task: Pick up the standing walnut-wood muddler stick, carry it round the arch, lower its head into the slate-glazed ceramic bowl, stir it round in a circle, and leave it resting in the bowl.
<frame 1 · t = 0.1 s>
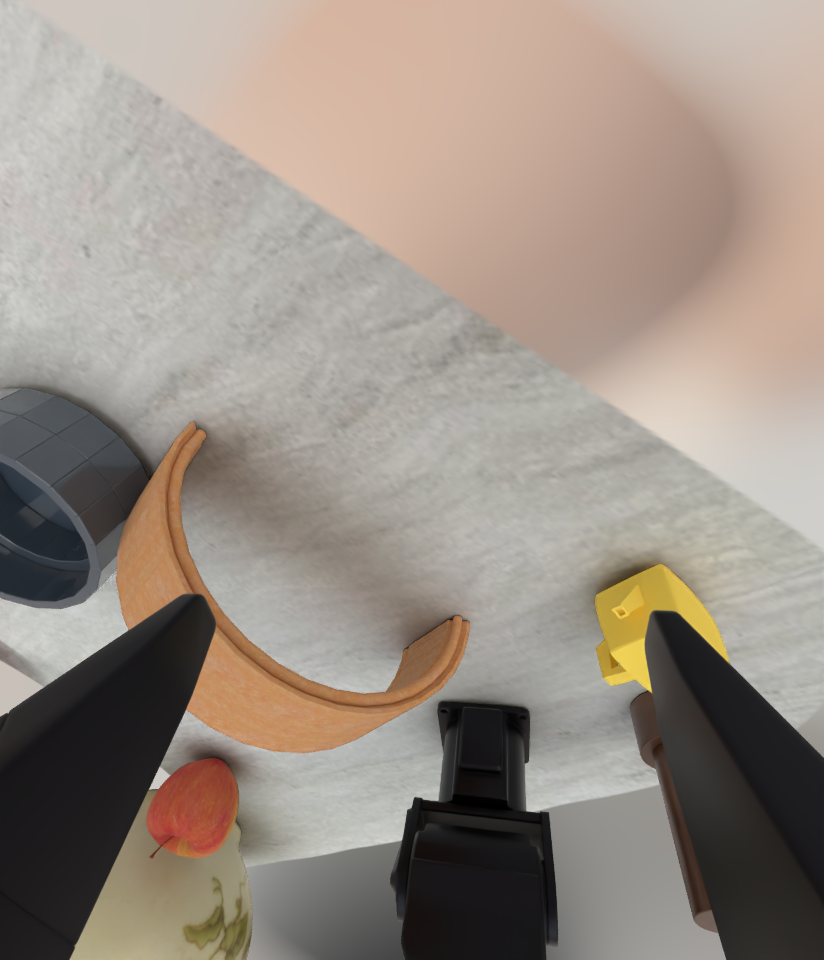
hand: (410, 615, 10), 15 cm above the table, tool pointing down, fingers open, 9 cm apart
teapot: (635, 596, 28), on the table
apple: (217, 762, 47), on the table
pitcher: (188, 816, 55), on the table
bowl: (71, 472, 29), on the table
muddler: (665, 708, 33), on the table
arch: (318, 553, 30), on the table, touching bowl
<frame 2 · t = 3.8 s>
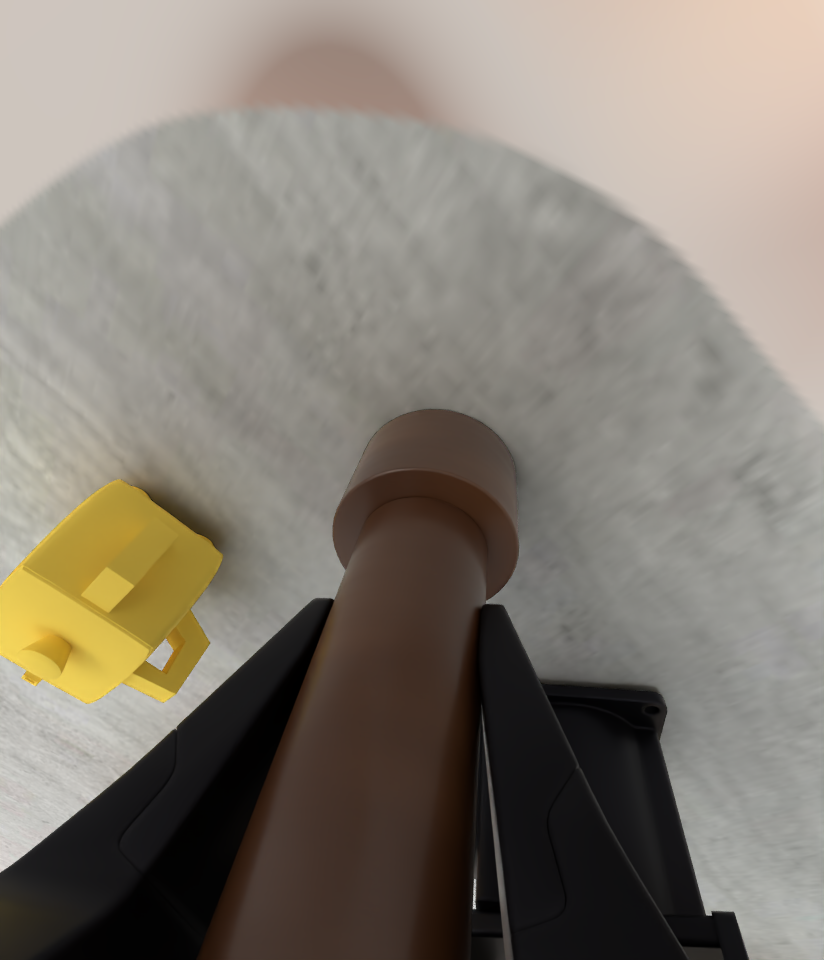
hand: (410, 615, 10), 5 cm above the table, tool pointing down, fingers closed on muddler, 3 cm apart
teapot: (168, 550, 18), on the table
muddler: (437, 479, 14), on the table, touching gripper
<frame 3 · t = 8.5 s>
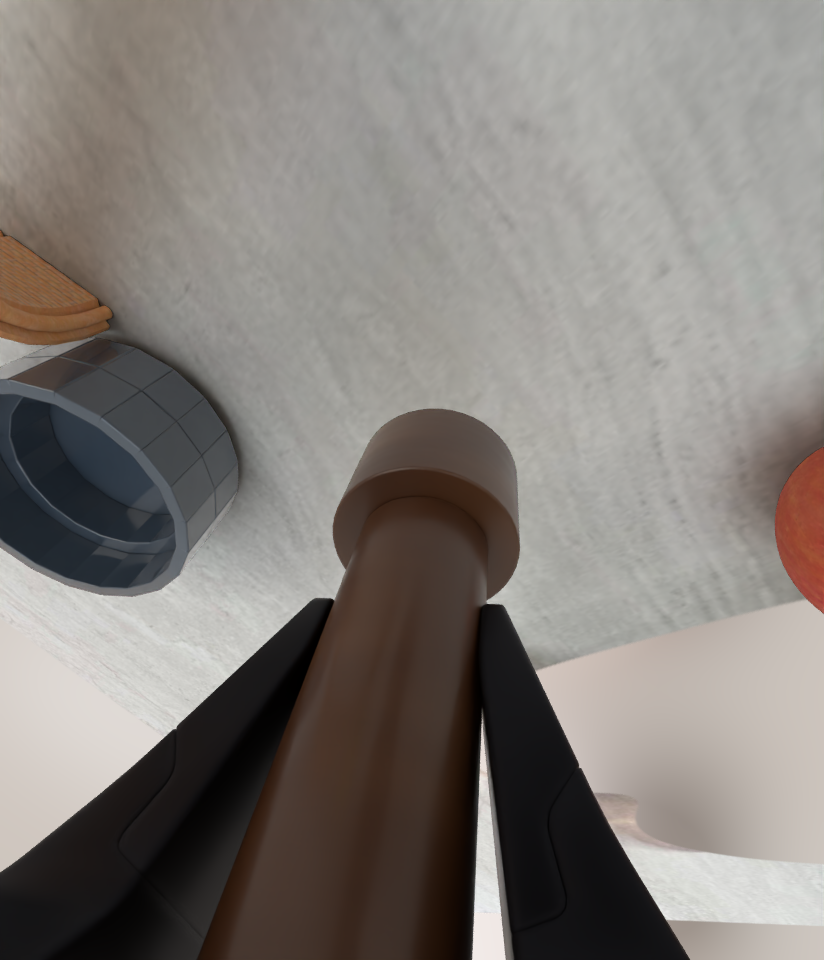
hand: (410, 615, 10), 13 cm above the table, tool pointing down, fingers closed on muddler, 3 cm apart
bowl: (140, 441, 26), on the table
muddler: (437, 478, 14), point 8 cm above the table, touching gripper
arch: (120, 48, 17), on the table
when the fingers open (6 cm above the table, at t = 13.4 s): muddler stays where it is, resting on bowl.
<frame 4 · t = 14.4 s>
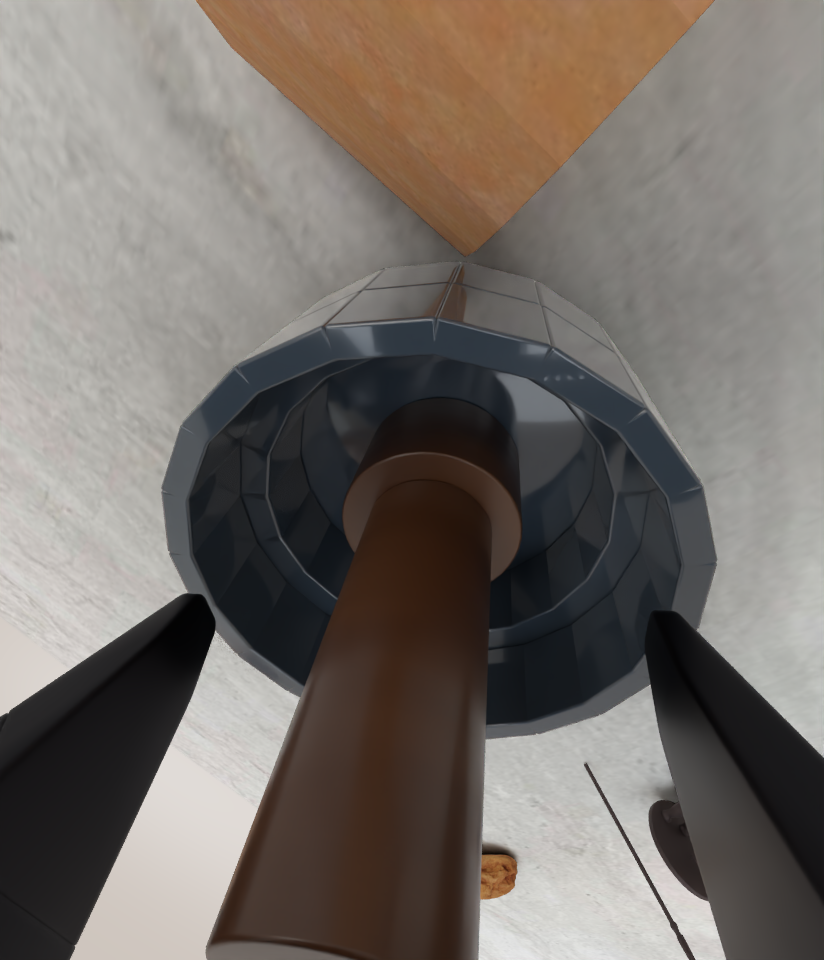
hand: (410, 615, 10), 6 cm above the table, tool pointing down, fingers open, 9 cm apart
dark disc and stick: (672, 856, 21), point 2 cm above the table
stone: (445, 863, 28), point 1 cm above the table
bowl: (444, 458, 15), on the table
muddler: (442, 466, 14), point 1 cm above the table, touching bowl
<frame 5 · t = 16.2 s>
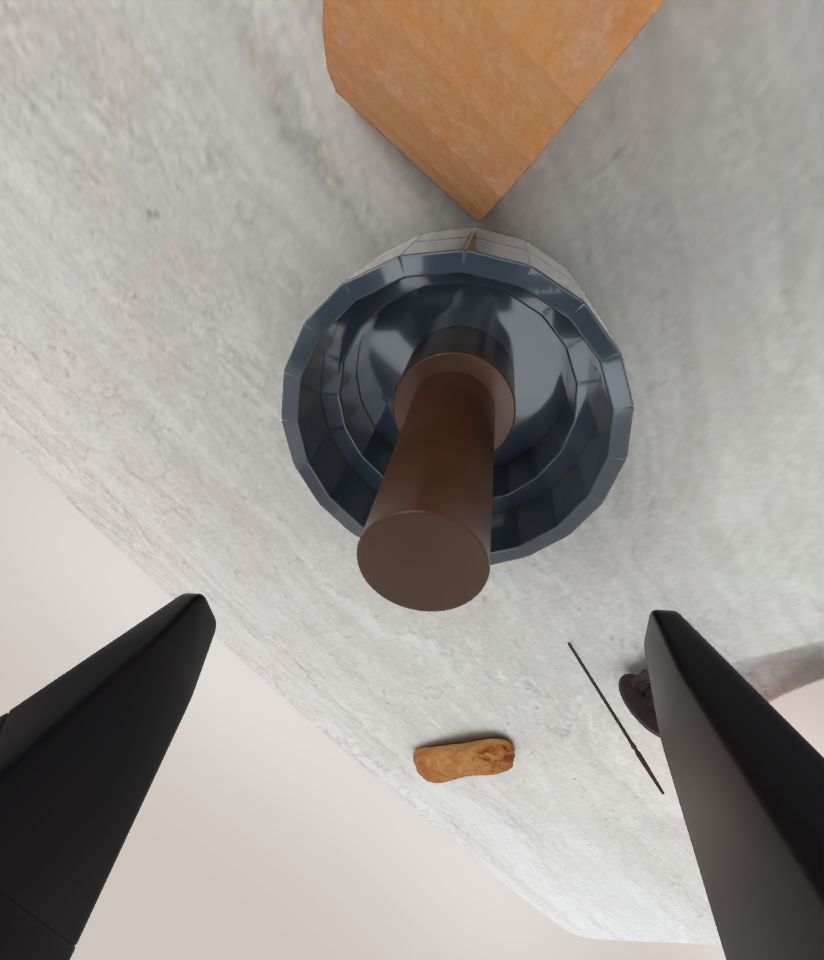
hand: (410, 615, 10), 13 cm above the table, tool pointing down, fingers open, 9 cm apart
dark disc and stick: (636, 709, 27), point 2 cm above the table
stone: (455, 745, 34), point 1 cm above the table
bowl: (460, 376, 21), on the table
muddler: (459, 380, 20), point 1 cm above the table, touching bowl
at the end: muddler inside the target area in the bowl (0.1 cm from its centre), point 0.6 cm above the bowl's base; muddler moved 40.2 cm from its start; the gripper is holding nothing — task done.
